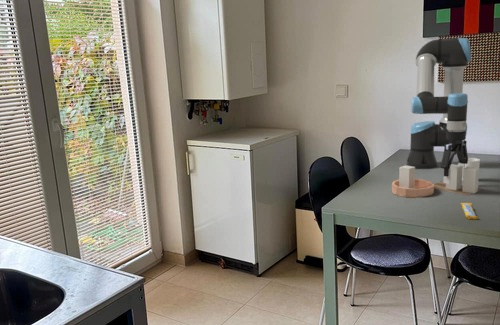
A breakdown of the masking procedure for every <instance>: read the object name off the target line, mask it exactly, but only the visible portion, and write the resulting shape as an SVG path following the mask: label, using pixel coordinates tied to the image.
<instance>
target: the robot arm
mask: <svg viewBox="0 0 500 325" xmlns="http://www.w3.org/2000/svg"><path fill="white" fill-rule="evenodd" d="M471 61H472V52H471V44H470V40H469V38H465V37H455V38H442V39H438V38H437V39H432V40H430V41H428V42H427V43H425V44H424V45H423V46H421V48H420V49H419V51H418V52H417V54H416V57H415V65H416V67H417V75H416V76H417V78H416V96H413V97H412V98H411V113H412V114H416V115H427V114H428V115H433V114H434V115H435V114H438V115H441V114H442V117H441V119H439V121H438V122H439V123H437V124H436V122H435V121H433V120H429V121H428V120H427V121H425V120H424V121H421V122H420V121H419V122H415V123H413V124H412V125H411V127H410V132H409V134H410V148H409V150H410V151H409V153H408V157H407V159H406V166H412V167H415V169H421V170H423V169H426V170H427V169H434V168H437V167H438V162H437V158H436V156H435V155H436V154H435V151H434V150H435V147H439V148H440V147H441V148H442V147H444V149H443V150H444V151H443V155H442V158H441V164H440V168H441V169H443V181H442V182H443V183H447V184H450V181H451V169H450V166H451V164H453V163H452V162H453V161H454V158H455V155H456V156H457V160H458V162H459V163H457V165H461V166H463V169H464V168H465V164H467V163H468V162H467V161H468V158H469V155H468V150H467V149H468V148H467V140H466V138H467V132H468V123H467V115H468V114H467V113H468V103H469V101H468V100H469V99H468V94H467V93H464V91H463V88H464V87H463V86H464V71H465V69H466V68H467V67H468V63H470V62H471ZM437 64H441V68H442V69H443V70H444V79H443V80H444V81H443V83H444V84H443V96H435V67H436V65H437ZM462 179H463V170H462Z"/></svg>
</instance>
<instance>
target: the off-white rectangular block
mask: <svg viewBox="0 0 500 325" xmlns="http://www.w3.org/2000/svg"><path fill="white" fill-rule="evenodd" d="M450 169H451V181H450V184H447V183H446V188H447V189H452V190H458V189H461V188H462V186H463V180H462V170H463V166H461V165H458V164H454V163H451V166H450Z"/></svg>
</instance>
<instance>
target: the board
mask: <svg viewBox="0 0 500 325" xmlns="http://www.w3.org/2000/svg"><path fill="white" fill-rule="evenodd" d="M462 189H463V185H462V188H461V189H458V190H452V189H447V188H446V183H443V181H438V182H436V183H434V190H438V191H443V192H450V193H454V194H458V195H464V196H470V195H472V194H474V193H468V192H462ZM482 190H483V188H478V191H477V192H479V191H482ZM477 192H476V193H477Z"/></svg>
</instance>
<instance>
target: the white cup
mask: <svg viewBox="0 0 500 325" xmlns="http://www.w3.org/2000/svg"><path fill="white" fill-rule="evenodd" d="M467 162H468V163H467V164H465V168H466V167H475V168H479V169H480V164H481V159H480V158H477V157H468V161H467ZM462 181H463V179H462Z"/></svg>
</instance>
